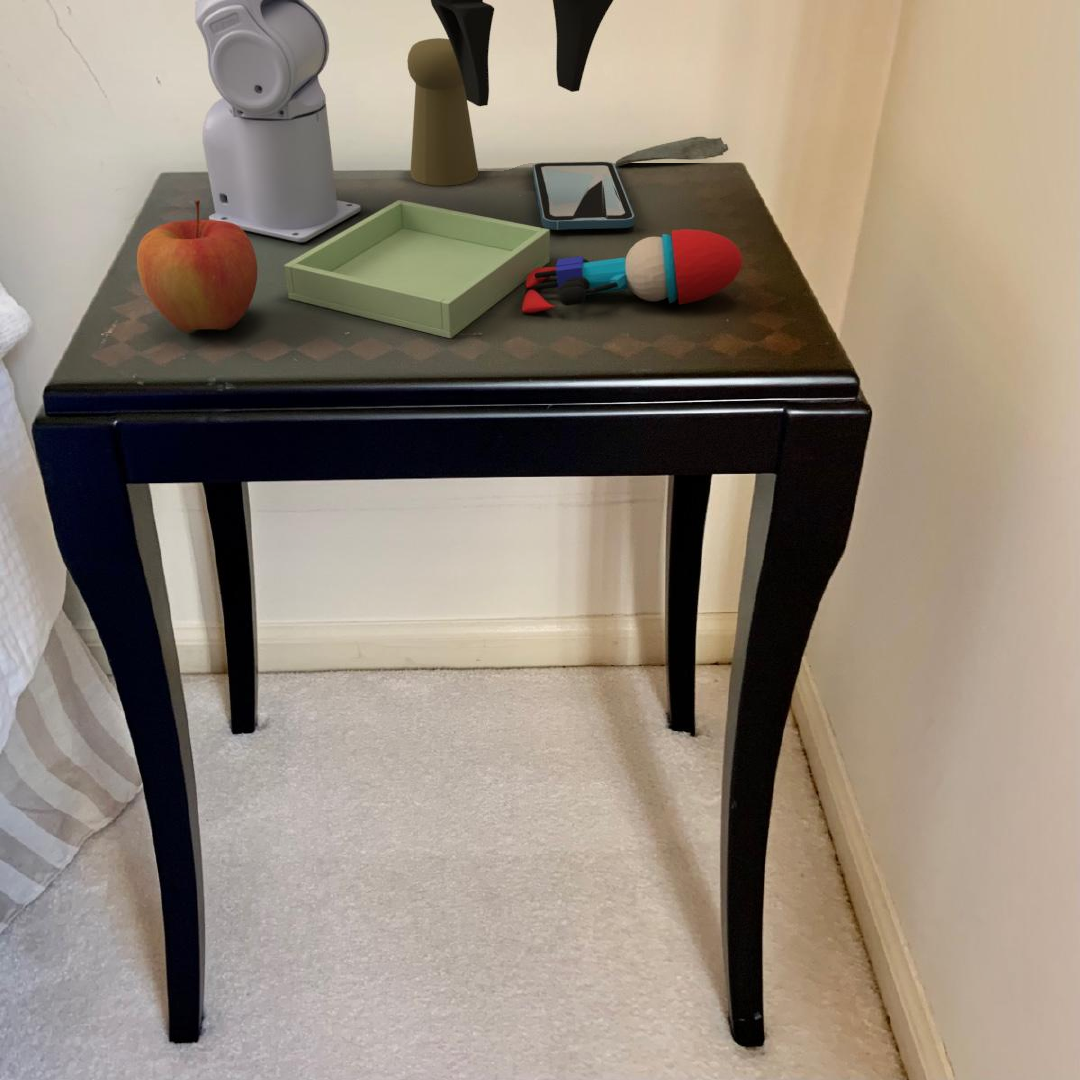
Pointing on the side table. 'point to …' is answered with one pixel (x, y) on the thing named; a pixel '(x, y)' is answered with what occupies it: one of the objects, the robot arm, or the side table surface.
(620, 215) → the smartphone
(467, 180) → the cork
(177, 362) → the side table surface
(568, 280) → the toy figure
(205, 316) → the apple
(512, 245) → the spice tray
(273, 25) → the robot arm
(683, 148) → the stone
